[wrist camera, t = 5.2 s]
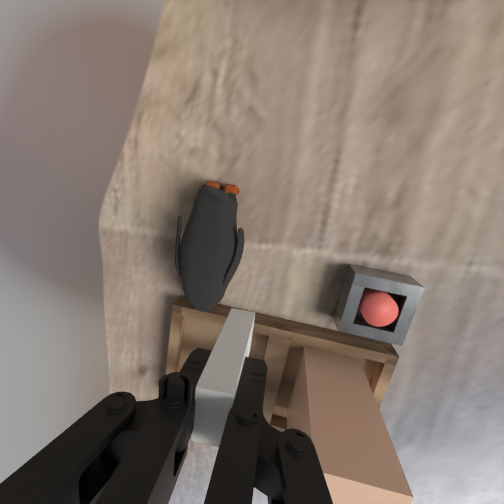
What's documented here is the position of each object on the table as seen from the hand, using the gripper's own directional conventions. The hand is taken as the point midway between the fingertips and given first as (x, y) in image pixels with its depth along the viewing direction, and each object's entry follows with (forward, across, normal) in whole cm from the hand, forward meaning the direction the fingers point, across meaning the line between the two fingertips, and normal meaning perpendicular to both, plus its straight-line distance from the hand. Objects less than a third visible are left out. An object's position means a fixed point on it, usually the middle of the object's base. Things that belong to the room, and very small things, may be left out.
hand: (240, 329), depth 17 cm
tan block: (+15, +10, -16) cm, 24 cm away
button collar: (+16, +13, -3) cm, 21 cm away
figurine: (+17, -6, 0) cm, 18 cm away
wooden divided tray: (+16, +3, -15) cm, 23 cm away
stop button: (+16, +13, -3) cm, 21 cm away
